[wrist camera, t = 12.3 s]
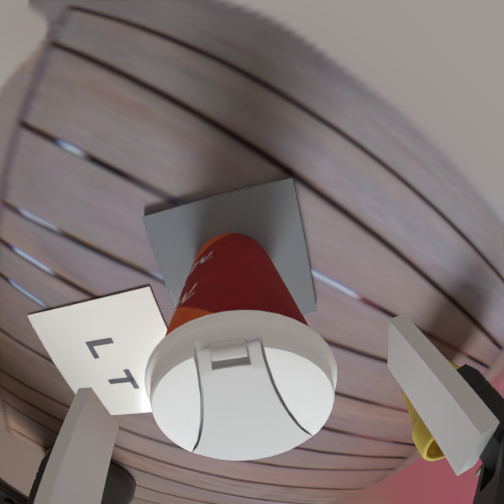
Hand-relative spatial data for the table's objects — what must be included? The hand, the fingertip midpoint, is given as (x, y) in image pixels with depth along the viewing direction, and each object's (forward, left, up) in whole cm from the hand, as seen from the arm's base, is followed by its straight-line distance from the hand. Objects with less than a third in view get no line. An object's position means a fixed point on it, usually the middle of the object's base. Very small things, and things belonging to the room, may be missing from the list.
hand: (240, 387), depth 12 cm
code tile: (-14, -7, -13) cm, 20 cm away
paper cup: (0, 0, -12) cm, 12 cm away
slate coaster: (0, 0, -13) cm, 13 cm away
